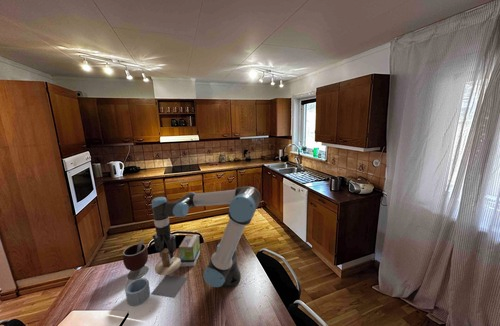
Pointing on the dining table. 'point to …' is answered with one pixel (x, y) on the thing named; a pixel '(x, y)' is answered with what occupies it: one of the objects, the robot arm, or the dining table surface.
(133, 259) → the mate gourd
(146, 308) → the dining table surface
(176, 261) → the lid
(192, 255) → the tea box
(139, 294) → the bowl
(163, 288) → the mat
